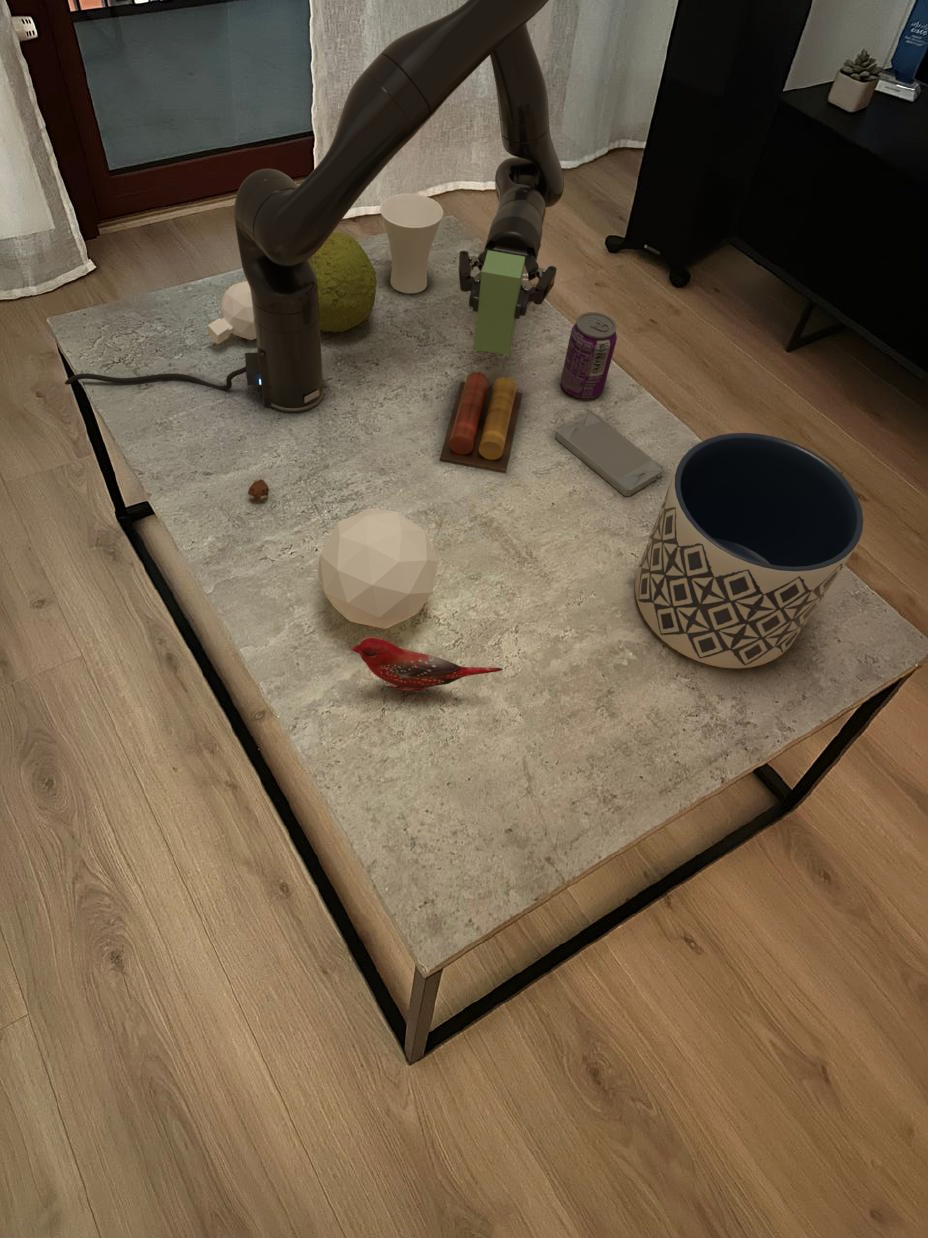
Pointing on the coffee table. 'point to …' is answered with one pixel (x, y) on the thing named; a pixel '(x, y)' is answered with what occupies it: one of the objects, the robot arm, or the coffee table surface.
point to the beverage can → (589, 355)
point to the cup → (410, 238)
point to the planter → (745, 548)
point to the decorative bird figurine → (411, 666)
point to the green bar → (498, 302)
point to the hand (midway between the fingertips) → (496, 309)
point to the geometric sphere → (377, 568)
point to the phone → (609, 453)
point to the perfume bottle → (235, 315)
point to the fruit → (343, 283)
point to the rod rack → (482, 423)
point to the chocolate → (258, 489)
